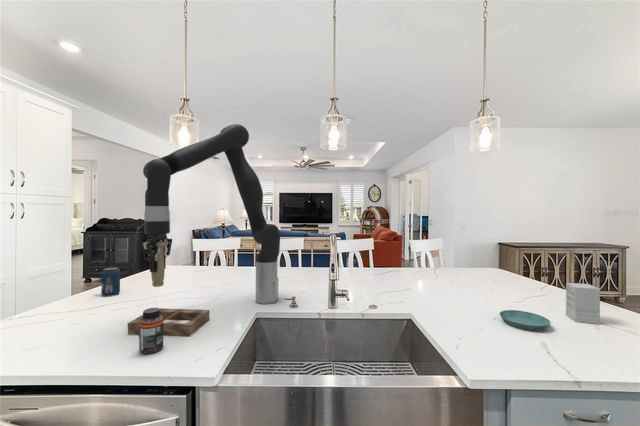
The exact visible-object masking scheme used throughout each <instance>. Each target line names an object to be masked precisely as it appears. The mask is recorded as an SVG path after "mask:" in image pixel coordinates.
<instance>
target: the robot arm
mask: <svg viewBox="0 0 640 426" xmlns="http://www.w3.org/2000/svg"><path fill="white" fill-rule="evenodd" d="M249 139H250V133H249V131H248V129H247V128H246V127H245V126H244V125H242V124H238V123H236V124H235V123H233V124H230V125H228V126H226V127H224V128H222V129H221V130H220V132H219V133H217V134H215V135H214V136H212V137H209V138H207V139H204V140H200V141H198V142H195V143H193V144H189V145H187V146H184V147H182V148H179V149H177V150H175V151H173V152H171V153H170V154H168V155H165V156H162V157H159V158H154V159H152V160H150V161H148V162H146V163H145V164H144V166H143V169H142V172H143V176H144V177H145V178H146V186H147V187H146V190H145V193H144V214H143V215H144V216H143V217H144V225H143V226H144V234H145V235H147V239H146V242H141V244H140V247H141V251H142V254H143V258H144V259H143V260H145V261H148V262H149V272H150V273H151V272H157V271H158V262H157V259H158V254H159V253H160V247H159V245H158V246H156V242H162V241H168V245H167V246H165V247H164V248H163V255H164V269H165V270H166V268H167V267H166V259H167V258H168V256H170V255H171V249H172V243H173V239H172V238H168V235H167V234H170V233H171V215H170V214H171V212H170V195H169V192H170V191H169V190H170V185H171V178H172V177H171V176H173V175H175V174H177V173H178V172H182V171H185V170H188V169H190V168H192V167H195V166H197V165H199V164H201V163H203V162H204V161H206V160H209V159H211V158H212V157H215V156H217V155H219V154H221V153H224V154H225V156H226V158H227V161H228V162H229V166H230V170H231V172H232V174H233V177H234V180H235V183H236V187H237V190H238V193H239V195H240V198H241V200H242V203H243V207H244V209H245V212H246V215H247V218H248V224H249V226H250V231H251V235H252V237H253V240H254V241H255V242H256V244H258V245H260V250H259V252H258V253H257V254H256V255H255V302H256V304H263V305H266V304H267V305H268V304H276V303H277V302H278V300H279V277H278V258H279V254H280V249H281V247H280V246H281V231H280V229H279V227H278V226H277V225H275V224H273V223H267V221H266V219H265V216H264V215H265V214H264V210H263V205H264V204H263V201H264V192H263V187H262V185H261V182H260V179H259V177H258V175H257V174H256V172H255V170H254V169H253V168H252V166H251V165H250V164H249V162H248V161H247V158H246V156H245V153H244V150H243V148H244V147H245V146H246V145H247V144H248V143H249ZM152 250H156V251H152ZM153 254H155V255H153Z"/></svg>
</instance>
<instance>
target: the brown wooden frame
mask: <svg viewBox="0 0 640 426" xmlns="http://www.w3.org/2000/svg"><path fill="white" fill-rule="evenodd" d="M158 308H159V312H160V313H159V314H160V315H161V316H163V336H168V337H171V336H172V337H191V336H192V335H193V334H194V333H195V332H197V331H198V330H199V329H200V328H201V327H203V326H204V325H205V324H206V323H207V322H208V321H210V309H198V308H197V309H196V308H195V309H194V308H192V309H191V308H189V309H188V308H163V307H162V308H160V307H158ZM141 318H143V314H141V315H140V316H138V317H137V318H134V319H132V320H131V321H129V322H127V335H138V336H139V321H140V319H141ZM196 330H197V331H196ZM190 335H191V336H190Z"/></svg>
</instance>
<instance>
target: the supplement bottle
mask: <svg viewBox="0 0 640 426" xmlns="http://www.w3.org/2000/svg"><path fill="white" fill-rule="evenodd" d="M159 308H160V307H150V308H146V309H144V310H143V311H142V312H143V313H142V315H143V318H141V319H140V321H139V335H138V345H139V346H138V347H139V348H138V350H139V353H141V354H143V355H150V354H154V353H157V352H160V351H161V350H162V349H163V348H164V335H163V316H161V315H160V314H159V313H160V312H159Z"/></svg>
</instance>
